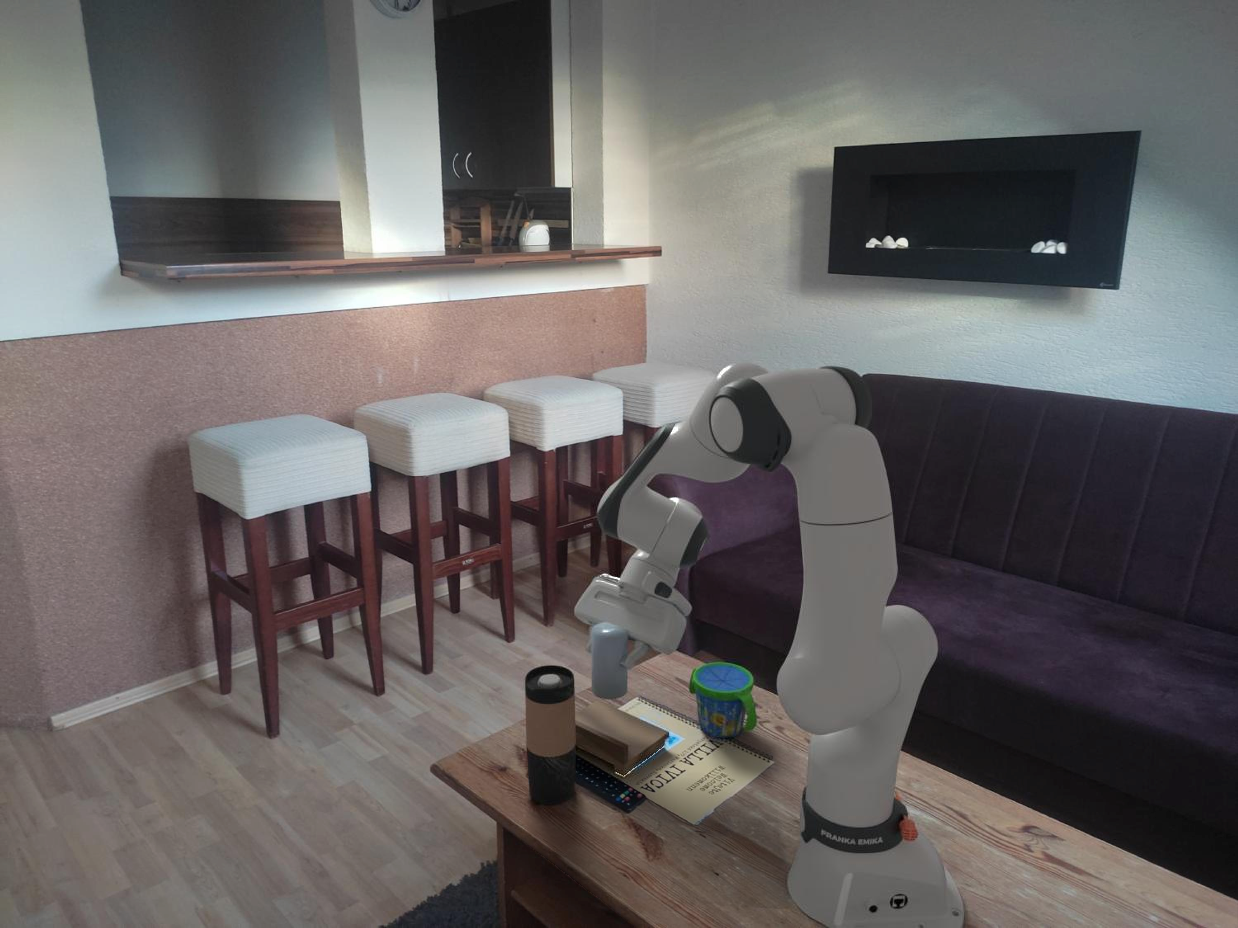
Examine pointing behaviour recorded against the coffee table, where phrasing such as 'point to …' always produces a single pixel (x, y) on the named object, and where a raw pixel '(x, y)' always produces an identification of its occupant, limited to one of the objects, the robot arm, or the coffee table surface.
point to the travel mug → (550, 733)
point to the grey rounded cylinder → (609, 660)
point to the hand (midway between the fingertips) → (607, 659)
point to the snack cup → (723, 698)
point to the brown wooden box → (617, 736)
